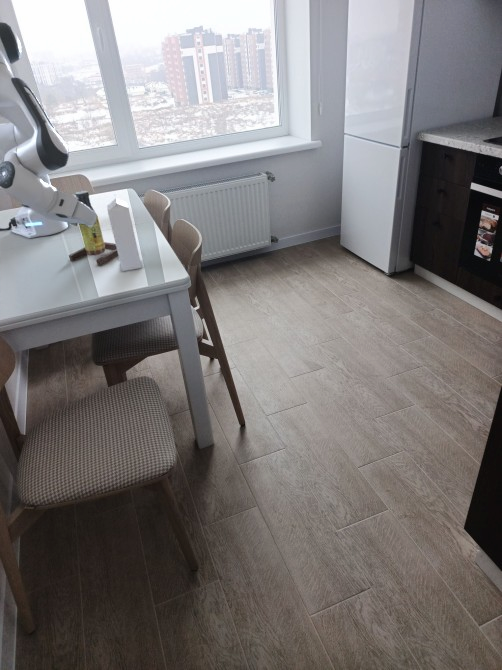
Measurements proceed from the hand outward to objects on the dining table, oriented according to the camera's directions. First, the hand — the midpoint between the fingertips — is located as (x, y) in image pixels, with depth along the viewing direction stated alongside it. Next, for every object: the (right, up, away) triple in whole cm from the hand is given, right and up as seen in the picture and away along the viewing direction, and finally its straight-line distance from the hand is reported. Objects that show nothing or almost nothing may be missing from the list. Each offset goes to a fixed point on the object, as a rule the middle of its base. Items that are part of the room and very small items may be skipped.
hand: (83, 224), depth 150 cm
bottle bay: (+2, -9, +8) cm, 12 cm away
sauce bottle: (+2, -8, +7) cm, 11 cm away
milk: (+15, -13, -1) cm, 20 cm away
